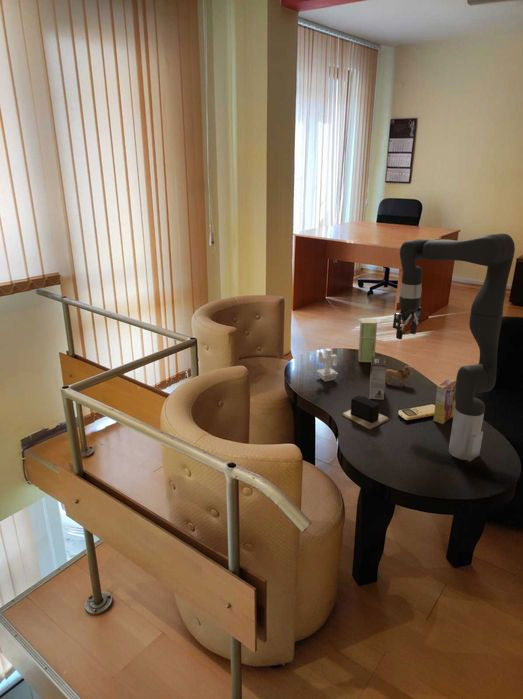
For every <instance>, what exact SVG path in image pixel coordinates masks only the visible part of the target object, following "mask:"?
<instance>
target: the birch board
mask: <svg viewBox="0 0 523 699" xmlns="http://www.w3.org/2000/svg"><path fill="white" fill-rule="evenodd" d="M342 416H344V417H345V418H347V419H349V420H351V421H353V422H355V423H356V424H359V425H361V426H362V427H365V428H367V429H368V430H371V429H373V428H375V427H377V426H379V425H381V424H383V423H385V422H387V421H389V417H388V416H386V415H383V414H382V413H380V412H379V417H378V420H377V421H375V422H374V423H370V422H368V421H365V420H363V419H361V418H359V417H356V416H354V415H352V414H351V409H348V410H347V411H343V412H342Z"/></svg>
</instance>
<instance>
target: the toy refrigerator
mask: <svg viewBox="0 0 523 699" xmlns="http://www.w3.org/2000/svg"><path fill="white" fill-rule="evenodd" d="M377 330H378V320H377V318H366V317H365V318H364V317H361V318H360V321H359V338H358V339H359V340H358V341H359V342H358V356H357V357H358V362H359V363H371V361H372V357H376V345H377Z"/></svg>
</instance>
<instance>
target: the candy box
mask: <svg viewBox="0 0 523 699" xmlns="http://www.w3.org/2000/svg"><path fill="white" fill-rule="evenodd" d="M455 389H456V380H453V379H449V378H448V379H446V380H444V382H443V381H442V382H441V383H440V384H438V385H437V387H436V394H435V401H434V402H435V403H434V413H433V421H434V422H436V423H439V424H441V425H444V424H445V423H446V422H447V421H449V420H450V419H453V417H454V411H455Z"/></svg>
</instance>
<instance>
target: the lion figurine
mask: <svg viewBox="0 0 523 699" xmlns="http://www.w3.org/2000/svg"><path fill="white" fill-rule="evenodd" d="M413 369H414V367H412V366H411V365H407V366H406V365H405V367H403V368H401V369H399V370H393V369H392V368H391V369H390V368H387V370H386V381H385V383H386V384H387V385H391V382H389V380H390V378H391V377H392V378H393V379H394V380H395V379H396V380H399V383H400V386H401V387H405V385H404V382H405V380H409V379H410V377H412V376H413V373H414V370H413Z"/></svg>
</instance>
